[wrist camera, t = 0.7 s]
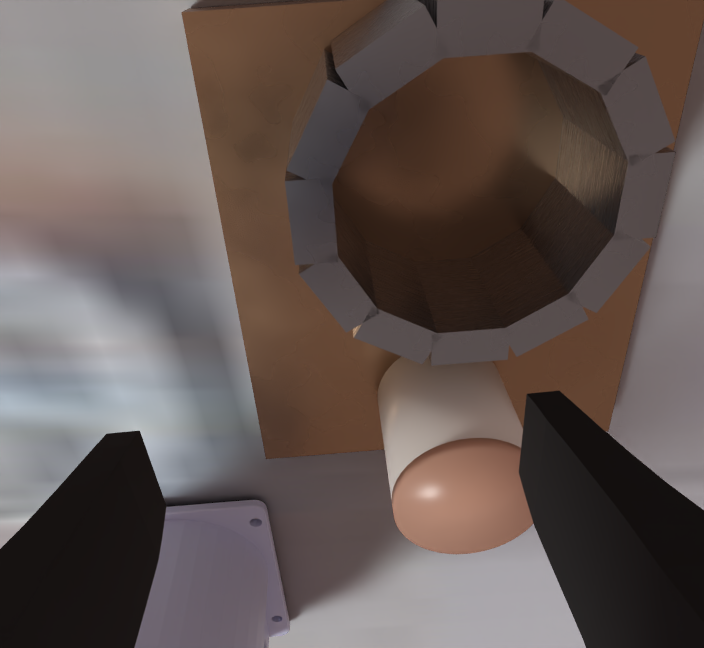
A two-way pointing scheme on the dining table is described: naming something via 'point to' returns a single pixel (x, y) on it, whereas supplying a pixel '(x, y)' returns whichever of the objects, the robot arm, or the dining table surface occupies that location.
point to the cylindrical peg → (452, 455)
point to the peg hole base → (436, 192)
